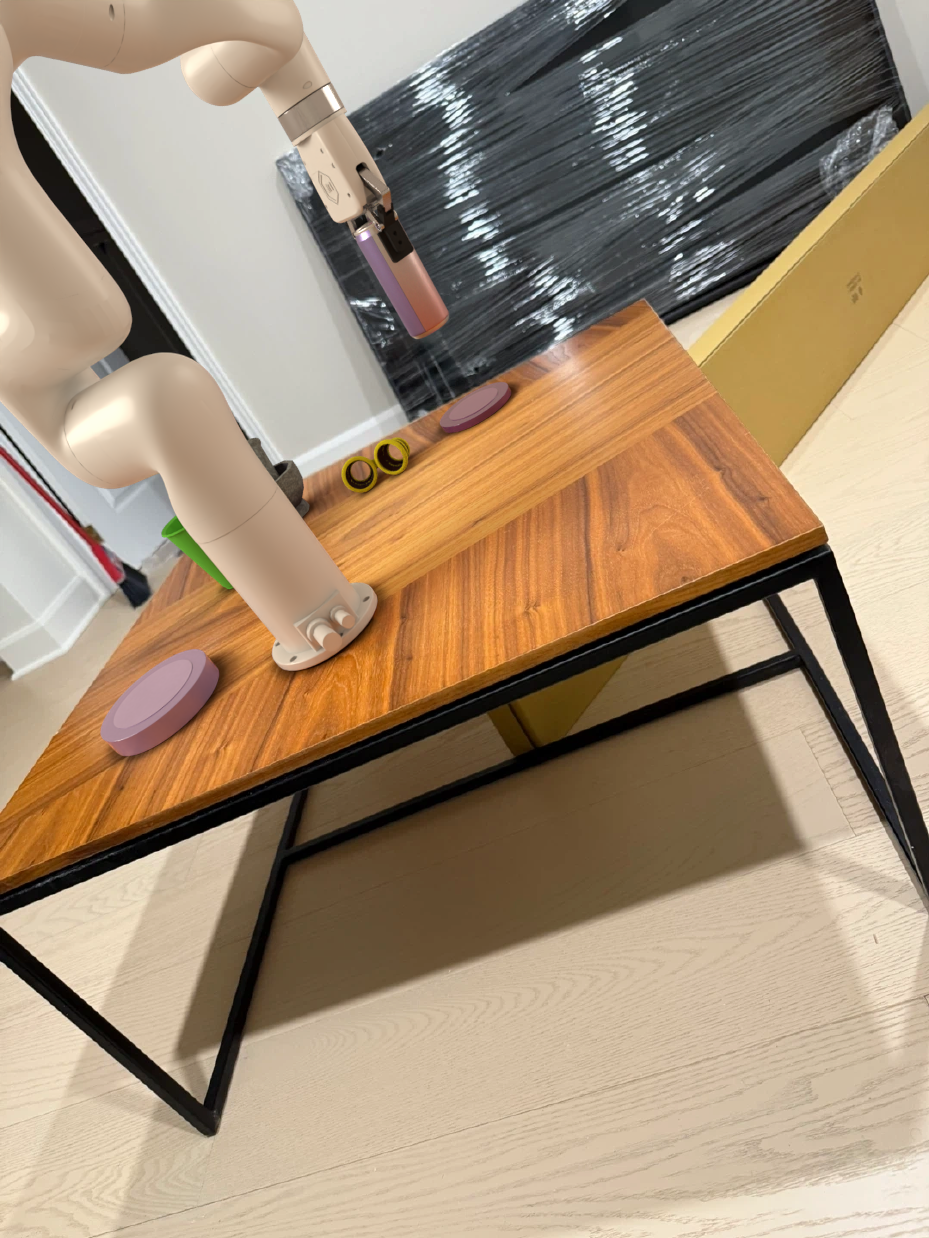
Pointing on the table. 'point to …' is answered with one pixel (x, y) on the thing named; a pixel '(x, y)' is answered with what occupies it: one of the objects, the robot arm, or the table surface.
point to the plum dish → (475, 407)
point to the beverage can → (404, 285)
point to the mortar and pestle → (284, 477)
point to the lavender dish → (160, 702)
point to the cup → (192, 550)
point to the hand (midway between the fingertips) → (392, 259)
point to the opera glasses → (377, 464)
